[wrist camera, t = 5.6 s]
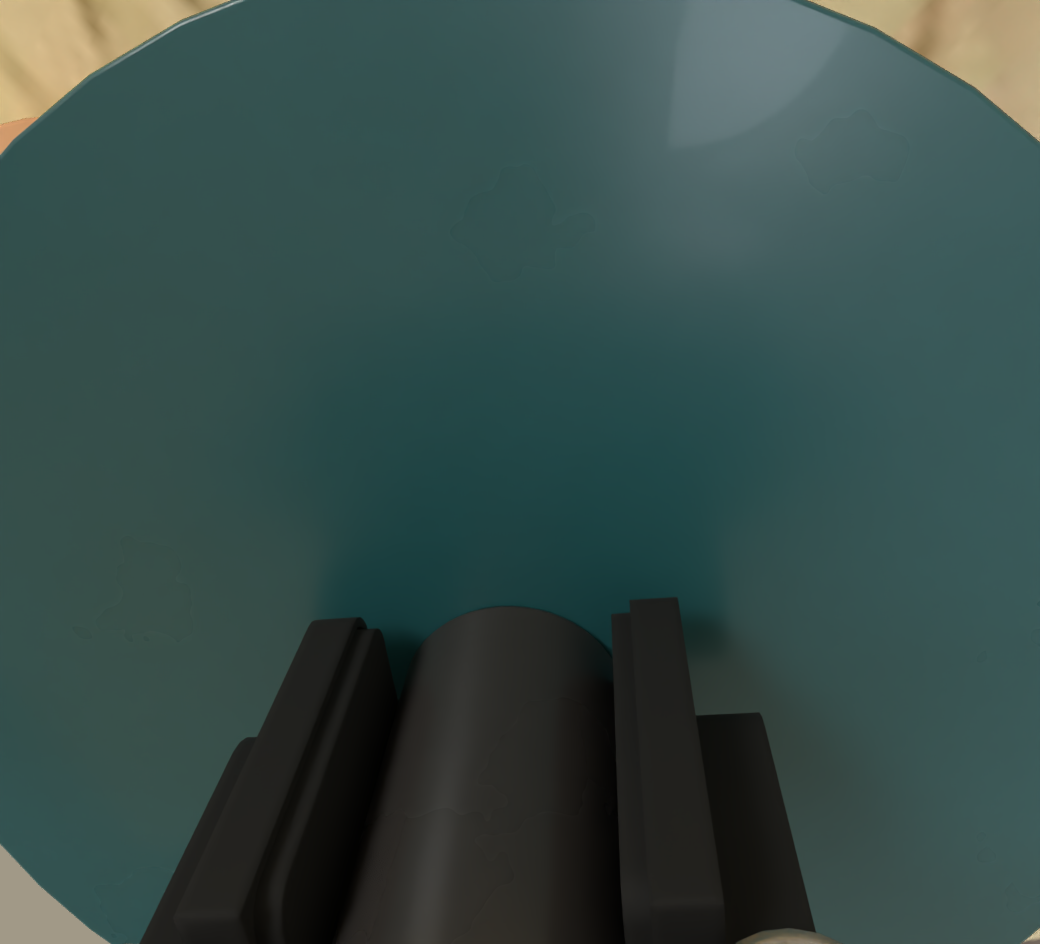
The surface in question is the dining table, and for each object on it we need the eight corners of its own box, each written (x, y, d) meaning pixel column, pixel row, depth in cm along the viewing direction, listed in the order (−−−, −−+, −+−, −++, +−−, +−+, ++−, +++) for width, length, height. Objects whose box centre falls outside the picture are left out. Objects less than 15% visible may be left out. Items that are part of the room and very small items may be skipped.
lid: (-235, 680, 13) (-823, 1149, 8) (356, -495, 7) (-353, -2076, 2) (593, 1131, 17) (595, 1678, 11) (1450, 579, 11) (2352, 1161, 5)
